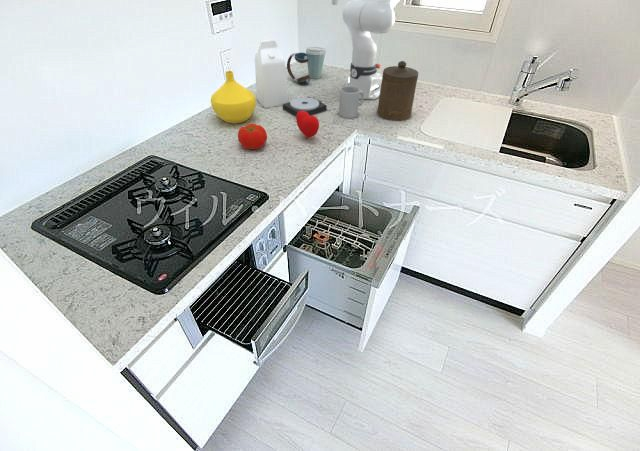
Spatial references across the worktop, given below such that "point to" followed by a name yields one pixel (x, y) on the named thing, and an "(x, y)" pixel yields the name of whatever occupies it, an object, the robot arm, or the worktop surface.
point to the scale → (305, 106)
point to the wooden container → (397, 92)
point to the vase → (233, 101)
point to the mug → (350, 101)
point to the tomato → (252, 136)
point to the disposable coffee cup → (315, 61)
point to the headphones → (301, 59)
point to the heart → (307, 124)
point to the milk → (270, 75)
